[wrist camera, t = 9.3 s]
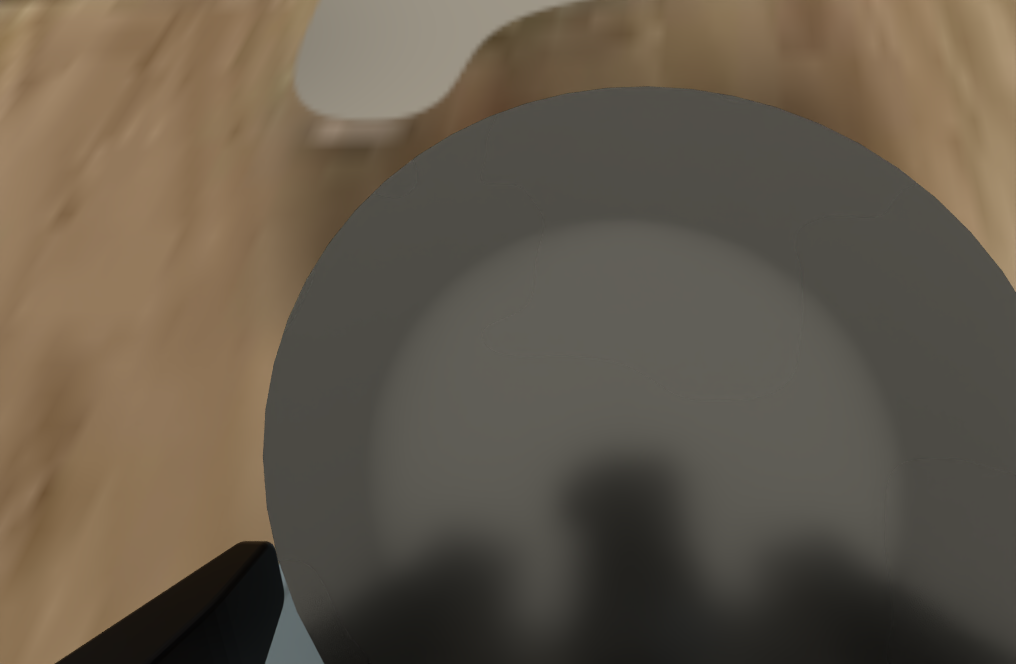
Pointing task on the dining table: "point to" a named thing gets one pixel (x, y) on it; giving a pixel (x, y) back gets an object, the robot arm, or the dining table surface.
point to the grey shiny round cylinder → (649, 402)
